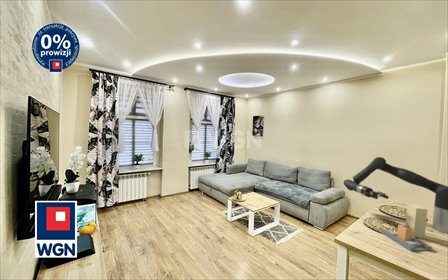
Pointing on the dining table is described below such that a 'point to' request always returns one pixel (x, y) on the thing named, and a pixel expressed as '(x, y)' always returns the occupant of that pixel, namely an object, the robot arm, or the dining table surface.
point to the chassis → (407, 242)
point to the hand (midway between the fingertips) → (382, 197)
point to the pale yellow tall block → (417, 219)
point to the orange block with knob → (405, 232)
